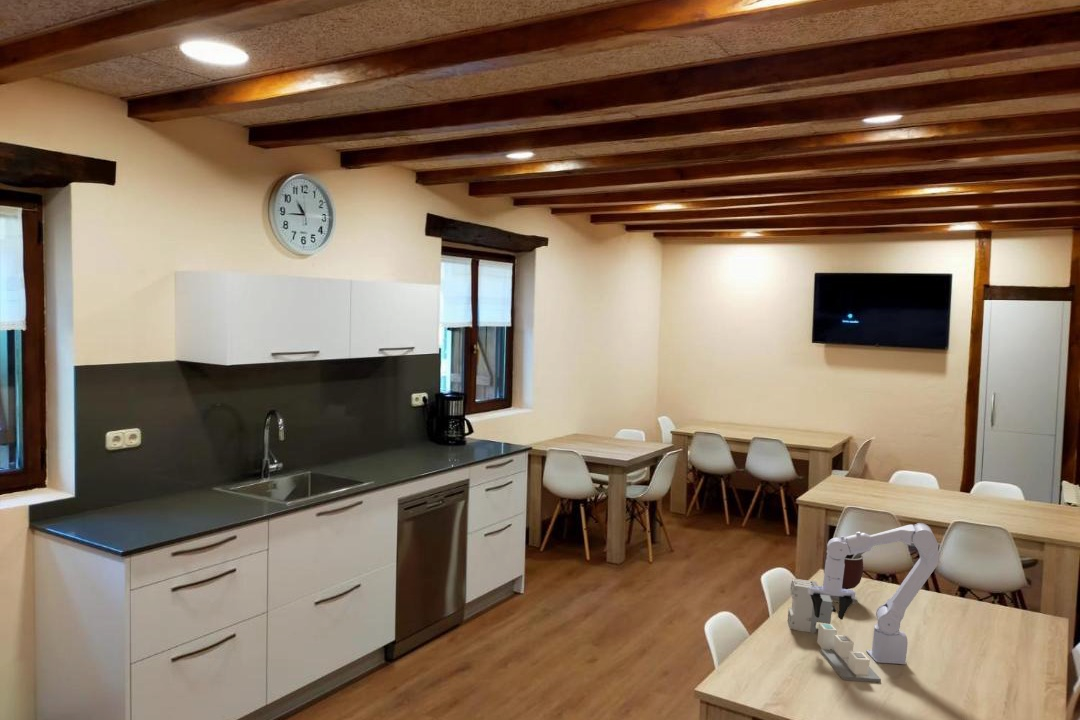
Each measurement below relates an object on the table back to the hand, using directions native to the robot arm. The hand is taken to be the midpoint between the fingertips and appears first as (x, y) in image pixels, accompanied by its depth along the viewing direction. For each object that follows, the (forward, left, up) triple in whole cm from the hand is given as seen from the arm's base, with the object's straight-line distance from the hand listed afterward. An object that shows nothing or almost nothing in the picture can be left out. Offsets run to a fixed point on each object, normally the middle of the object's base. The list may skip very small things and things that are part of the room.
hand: (828, 617), depth 248 cm
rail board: (-2, +14, -10) cm, 17 cm away
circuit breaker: (0, -14, -10) cm, 17 cm away
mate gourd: (-23, -45, -10) cm, 52 cm away
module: (0, 0, -10) cm, 10 cm away
